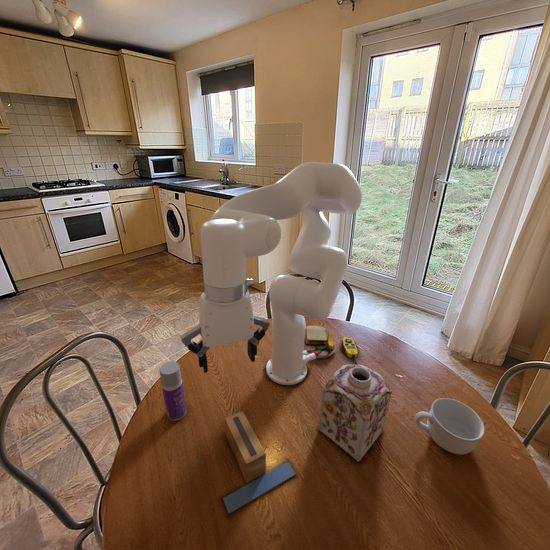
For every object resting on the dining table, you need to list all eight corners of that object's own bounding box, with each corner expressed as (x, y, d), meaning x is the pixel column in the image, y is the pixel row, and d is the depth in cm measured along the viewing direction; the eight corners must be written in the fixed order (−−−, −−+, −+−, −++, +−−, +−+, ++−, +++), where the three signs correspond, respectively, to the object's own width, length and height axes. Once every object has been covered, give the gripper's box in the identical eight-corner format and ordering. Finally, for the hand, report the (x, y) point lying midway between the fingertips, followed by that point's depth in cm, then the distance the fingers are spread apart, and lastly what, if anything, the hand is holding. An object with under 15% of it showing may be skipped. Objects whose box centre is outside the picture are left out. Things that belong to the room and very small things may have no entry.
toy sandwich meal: (298, 357, 95) (298, 346, 93) (300, 333, 107) (301, 322, 105) (336, 362, 94) (338, 350, 92) (334, 336, 106) (336, 325, 104)
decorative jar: (343, 402, 79) (352, 349, 72) (383, 430, 72) (398, 374, 64) (315, 429, 71) (322, 373, 64) (357, 464, 64) (371, 405, 56)
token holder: (225, 435, 69) (224, 417, 67) (242, 428, 71) (242, 410, 69) (246, 482, 60) (246, 463, 57) (265, 472, 62) (265, 453, 59)
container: (180, 422, 72) (173, 376, 66) (163, 418, 73) (154, 373, 67) (189, 407, 77) (183, 362, 70) (173, 404, 77) (165, 359, 71)
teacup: (468, 428, 73) (477, 404, 70) (480, 469, 64) (492, 445, 60) (408, 411, 77) (414, 389, 74) (411, 448, 68) (419, 424, 64)
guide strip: (288, 462, 64) (288, 461, 64) (295, 475, 62) (295, 474, 62) (223, 499, 57) (222, 498, 57) (228, 514, 55) (228, 513, 55)
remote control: (353, 336, 103) (366, 366, 90) (353, 341, 104) (365, 370, 90) (340, 336, 103) (350, 365, 89) (339, 340, 104) (349, 370, 90)
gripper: (263, 275, 59) (262, 343, 66) (174, 286, 53) (183, 360, 60) (277, 291, 53) (274, 365, 60) (177, 305, 47) (187, 386, 54)
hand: (228, 362), depth 60 cm, fingers open, 9 cm apart
